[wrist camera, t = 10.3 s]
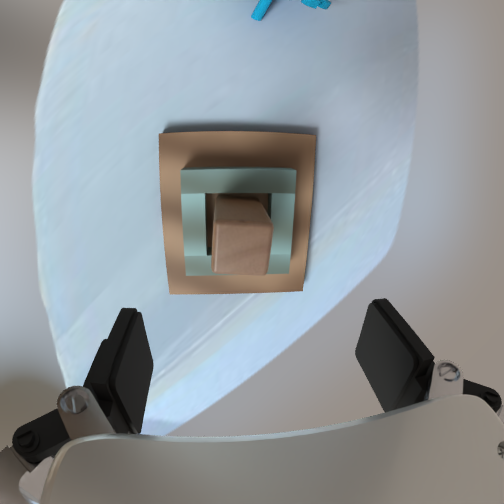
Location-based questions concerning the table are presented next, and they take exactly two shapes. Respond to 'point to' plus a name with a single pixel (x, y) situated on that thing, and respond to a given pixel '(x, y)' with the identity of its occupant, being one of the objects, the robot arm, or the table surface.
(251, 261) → the wooden block
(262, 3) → the gear
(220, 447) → the robot arm
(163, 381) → the table surface
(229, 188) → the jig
